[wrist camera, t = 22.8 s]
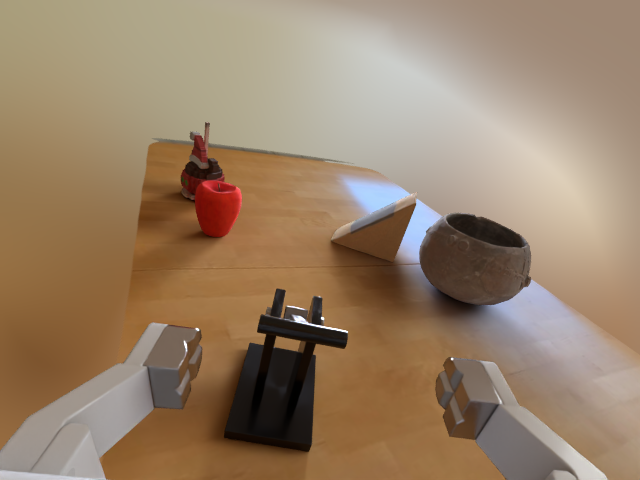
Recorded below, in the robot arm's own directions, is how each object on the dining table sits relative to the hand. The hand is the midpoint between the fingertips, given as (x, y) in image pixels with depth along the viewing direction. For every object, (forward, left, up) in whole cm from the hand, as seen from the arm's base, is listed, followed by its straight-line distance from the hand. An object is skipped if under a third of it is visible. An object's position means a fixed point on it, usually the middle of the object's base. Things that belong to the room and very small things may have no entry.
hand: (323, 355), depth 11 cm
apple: (-10, +55, -27) cm, 63 cm away
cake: (-16, +72, -27) cm, 79 cm away
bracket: (+3, +18, -27) cm, 33 cm away
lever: (+2, +13, -13) cm, 18 cm away
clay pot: (+42, +46, -27) cm, 68 cm away
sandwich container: (+24, +60, -27) cm, 70 cm away
